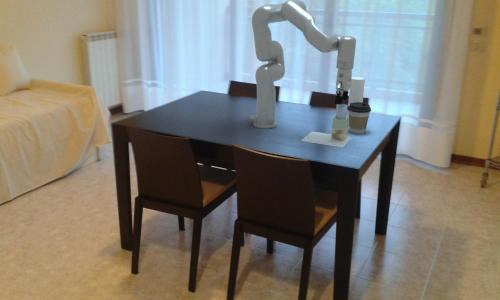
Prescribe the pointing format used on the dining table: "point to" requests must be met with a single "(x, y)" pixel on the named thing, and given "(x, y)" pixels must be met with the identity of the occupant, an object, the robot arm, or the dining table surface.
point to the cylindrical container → (356, 91)
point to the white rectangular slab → (324, 139)
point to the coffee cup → (358, 116)
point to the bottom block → (339, 134)
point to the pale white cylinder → (341, 111)
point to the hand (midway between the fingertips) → (341, 101)
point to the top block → (340, 123)
